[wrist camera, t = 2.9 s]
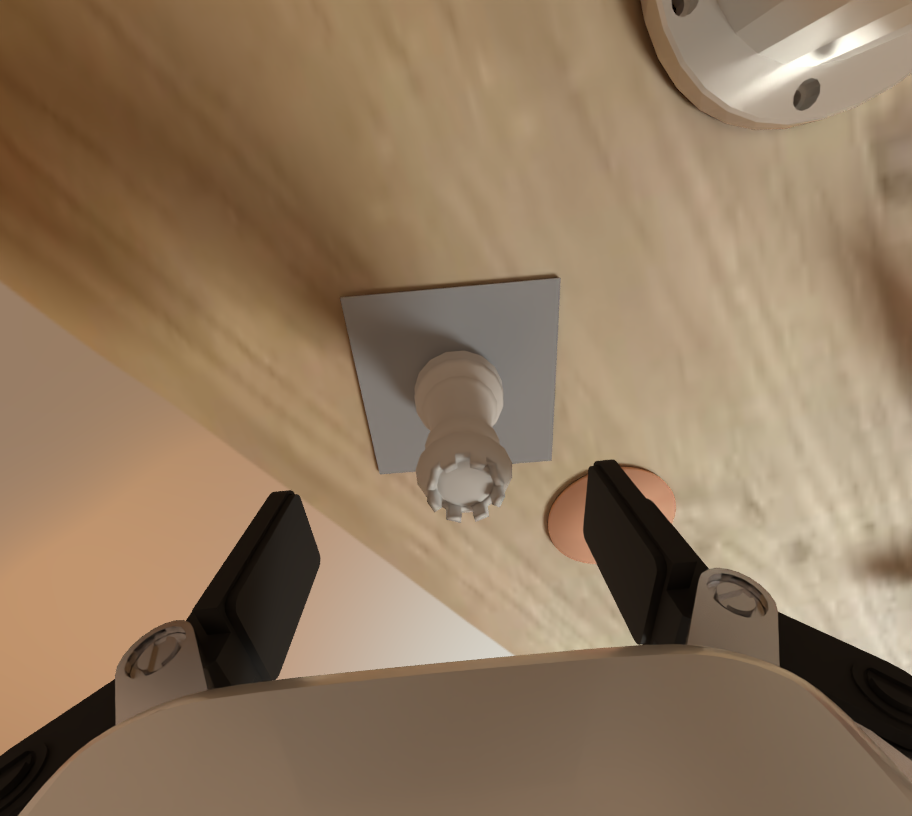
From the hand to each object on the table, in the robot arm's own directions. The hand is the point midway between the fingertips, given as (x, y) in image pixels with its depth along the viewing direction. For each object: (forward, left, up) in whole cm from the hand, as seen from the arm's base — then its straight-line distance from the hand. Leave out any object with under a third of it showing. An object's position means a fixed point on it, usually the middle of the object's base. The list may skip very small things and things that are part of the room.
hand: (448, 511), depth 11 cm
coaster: (+9, +10, -8) cm, 16 cm away
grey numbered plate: (-1, +1, -8) cm, 8 cm away
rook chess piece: (-1, +1, -8) cm, 8 cm away
